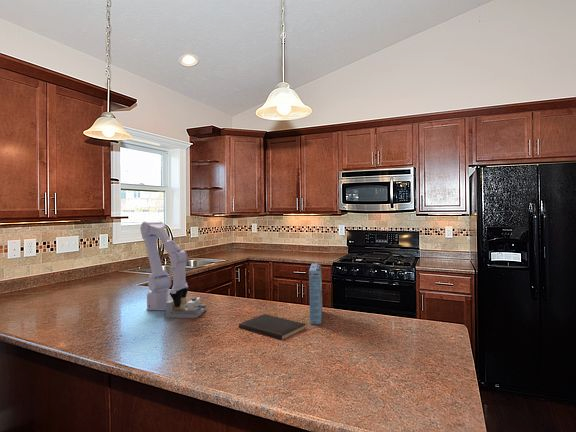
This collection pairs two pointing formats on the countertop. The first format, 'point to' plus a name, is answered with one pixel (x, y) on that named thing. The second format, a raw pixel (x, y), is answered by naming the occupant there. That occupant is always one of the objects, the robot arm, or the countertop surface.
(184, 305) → the block
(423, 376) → the countertop surface
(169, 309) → the base
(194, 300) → the sliding jaw
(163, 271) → the robot arm
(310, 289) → the gum box
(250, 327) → the hardcover book
